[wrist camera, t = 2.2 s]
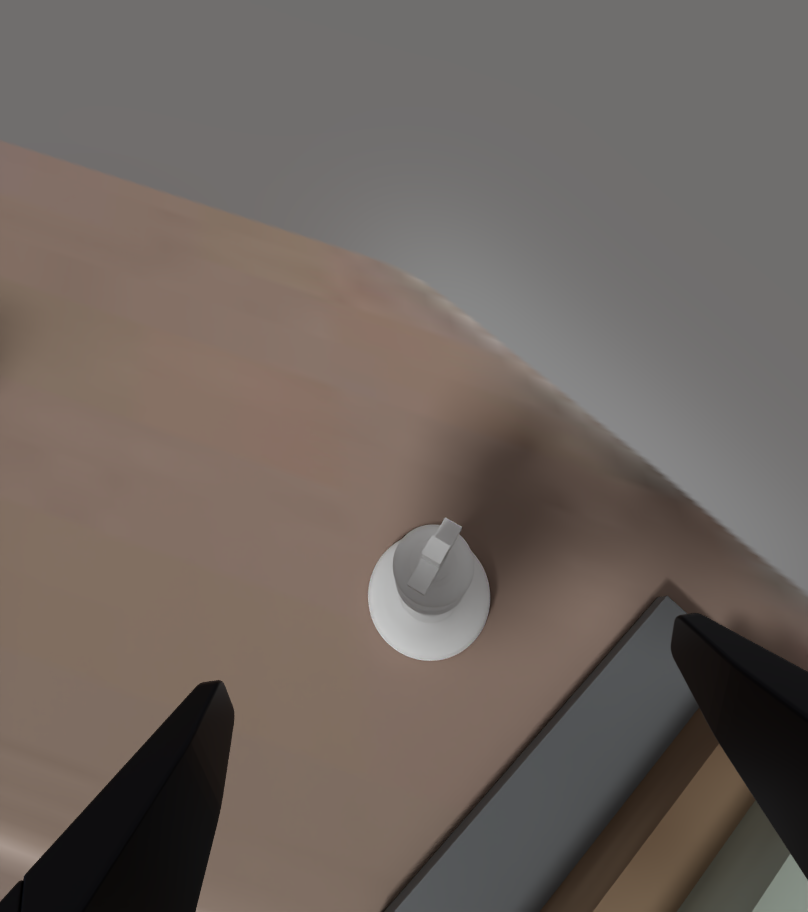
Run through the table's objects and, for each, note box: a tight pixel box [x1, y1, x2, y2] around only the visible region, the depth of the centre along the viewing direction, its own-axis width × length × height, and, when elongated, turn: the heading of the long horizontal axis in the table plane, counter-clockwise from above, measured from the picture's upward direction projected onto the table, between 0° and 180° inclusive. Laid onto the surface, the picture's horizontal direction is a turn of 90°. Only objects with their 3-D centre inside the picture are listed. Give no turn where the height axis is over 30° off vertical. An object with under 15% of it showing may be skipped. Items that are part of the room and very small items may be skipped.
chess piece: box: [368, 517, 490, 661], centre depth 14 cm, size 5×5×10 cm
